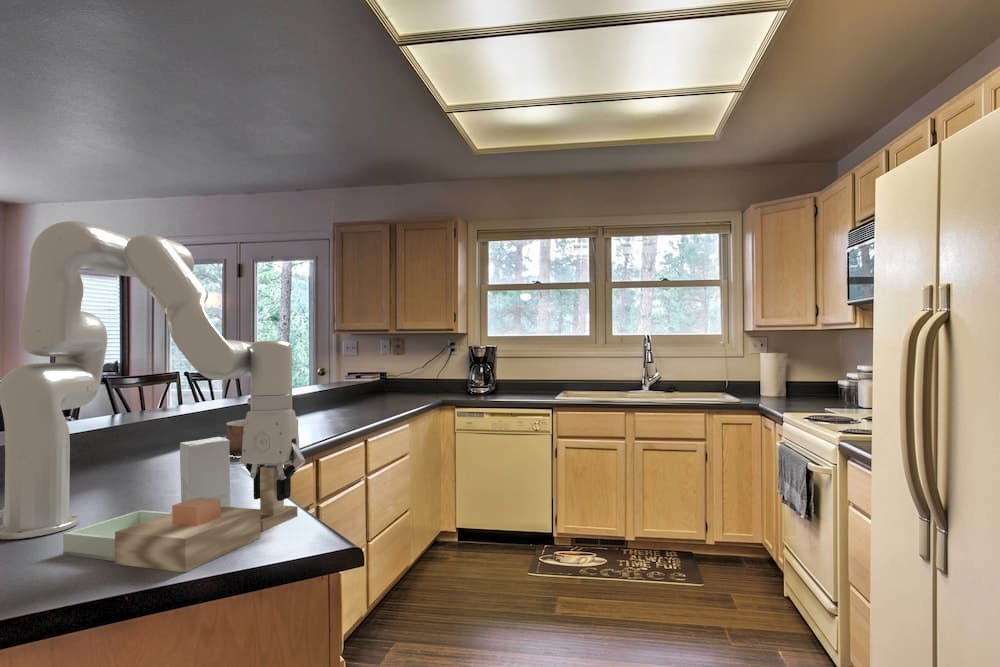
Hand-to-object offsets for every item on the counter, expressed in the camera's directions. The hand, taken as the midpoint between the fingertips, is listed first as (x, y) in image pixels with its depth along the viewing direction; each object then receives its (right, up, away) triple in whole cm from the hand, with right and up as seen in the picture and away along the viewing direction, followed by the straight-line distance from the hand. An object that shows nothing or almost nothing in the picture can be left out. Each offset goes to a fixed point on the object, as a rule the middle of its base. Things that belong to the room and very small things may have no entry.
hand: (272, 497), depth 107 cm
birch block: (-7, -4, -15) cm, 17 cm away
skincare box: (-18, -6, +9) cm, 21 cm away
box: (-20, -5, -11) cm, 23 cm away
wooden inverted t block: (0, -5, 0) cm, 5 cm away
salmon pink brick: (-6, +1, -15) cm, 16 cm away
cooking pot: (-36, -9, +79) cm, 87 cm away
